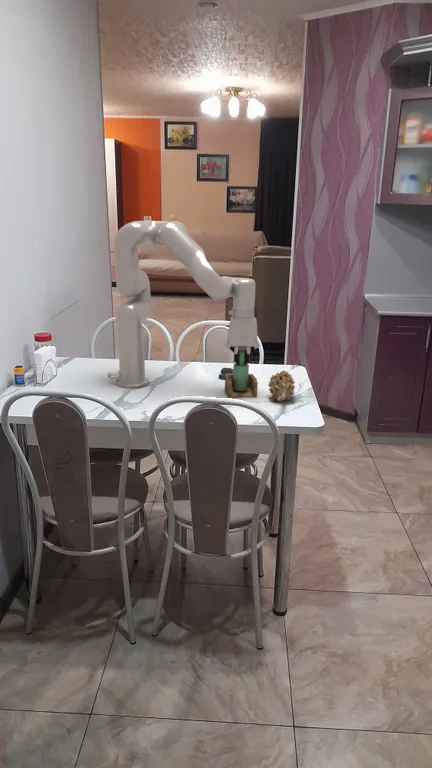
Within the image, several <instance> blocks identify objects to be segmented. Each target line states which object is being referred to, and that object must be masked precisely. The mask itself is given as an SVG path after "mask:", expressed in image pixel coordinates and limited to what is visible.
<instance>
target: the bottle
mask: <svg viewBox="0 0 432 768" xmlns="http://www.w3.org/2000/svg"><path fill="white" fill-rule="evenodd" d="M245 351H246V348H238V354H239V364H238V365H236V363H235V362H234V363H233V368H232V369H233V389H234V390H237V391H245V390H247V389H248V374H250V372H249V371H250V368H249V367H250V365H249V364H248V363H247V365H245Z"/></svg>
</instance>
